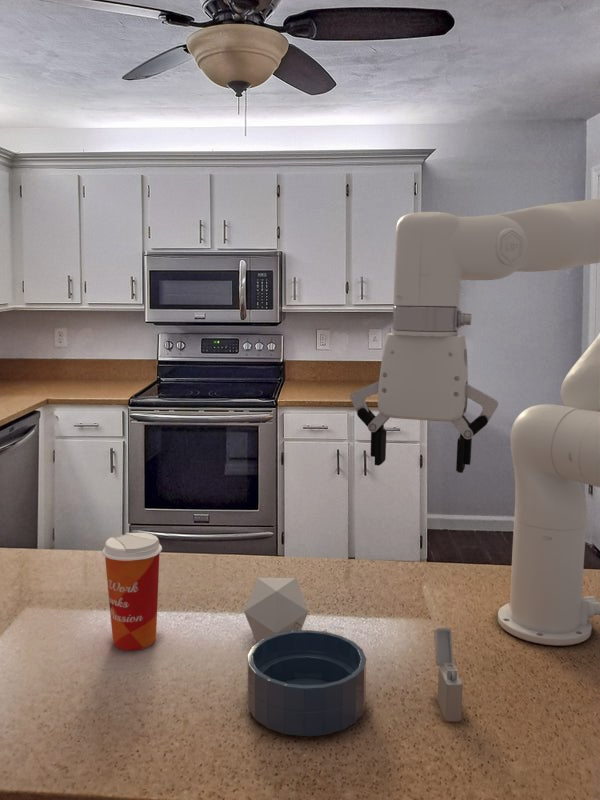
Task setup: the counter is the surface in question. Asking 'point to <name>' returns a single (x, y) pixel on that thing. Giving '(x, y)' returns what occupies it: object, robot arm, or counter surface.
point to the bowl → (306, 682)
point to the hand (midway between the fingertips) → (419, 466)
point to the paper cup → (133, 588)
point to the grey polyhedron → (275, 607)
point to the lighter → (447, 676)
